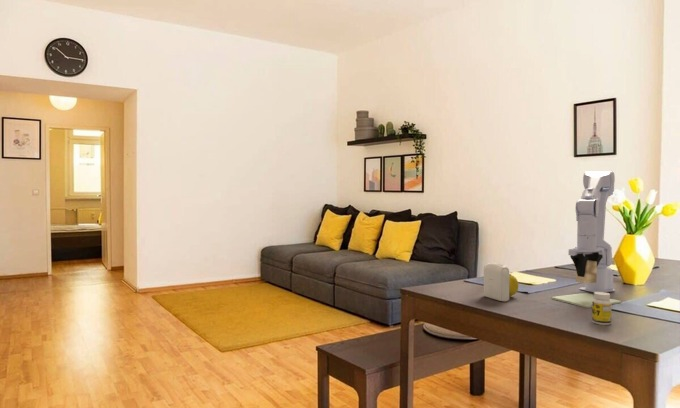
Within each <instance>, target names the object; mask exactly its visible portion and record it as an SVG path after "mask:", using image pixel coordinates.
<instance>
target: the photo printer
mask: <svg viewBox="0 0 680 408" xmlns="http://www.w3.org/2000/svg"><path fill="white" fill-rule="evenodd" d="M509 274H510V270H509V268H508V267H507V266H506V265H504V264H503V263H500V262H498V261H497V262H496V261H495V262H487V263H485V264H484V267H483V296H484V297H486V298H489V299H492V300H496V301H500V302H509V300H510V297H509Z"/></svg>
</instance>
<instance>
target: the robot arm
mask: <svg viewBox="0 0 680 408" xmlns="http://www.w3.org/2000/svg"><path fill="white" fill-rule="evenodd" d="M582 178H583V179H582V183H583V188H584V190H583V191H582V194H581V196H580V198H579V200H576V202H575V215H576V217H575V218H576V222H577V224H576V225H577V230H576V231H577V234H576V237H577V238H576V240H577V241H576V244H577V245H576V246H575V248H569V249H568V256H569V257H570V259H571V261H572V262H573V264H574V267H575V272H576V271H577V275H578V276H580V277H584V275H585V267H586V263H587V260H590V261H596V262H597V279H596V283H588V284H587V283H584V287H579V288H578V289H579V290H581V291H586V292H590V293H594V292H605V293H609V292H610V293H611V292H616V289H615V288H614V271H613V270H612V268H611V265H612V262H613V253H612V252H613V247H612V245H611V244H610V243H609V242H607V241H606V240H605V226H606V225H605V224H606V211H607V202H608V198H609V197H610V196H613V195H614V191H615V181H616V180H615V179H616V178H615V172H614V171H612V170H610V171H605V170H603V171H588V170H587V171H585V172H584V173H583V177H582Z"/></svg>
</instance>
